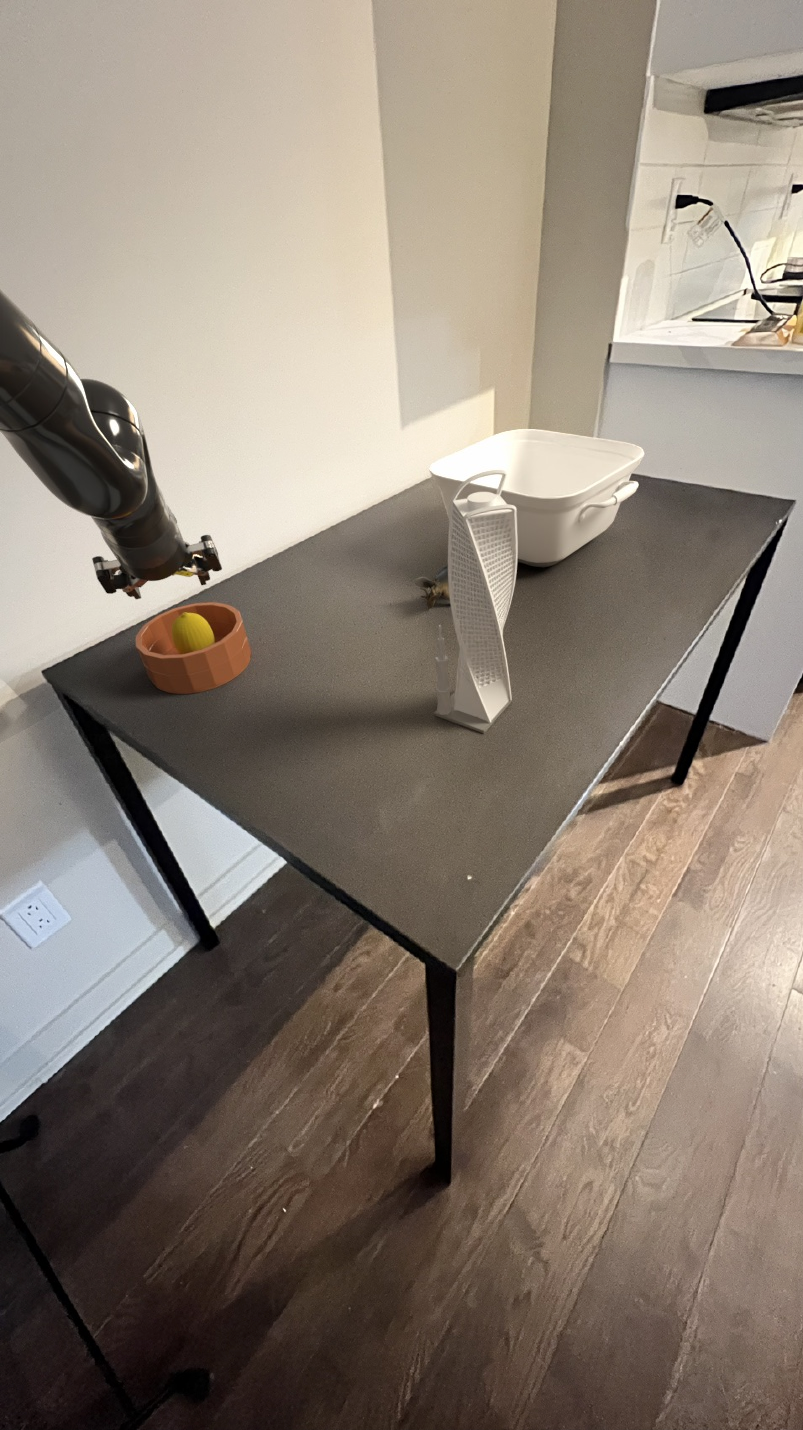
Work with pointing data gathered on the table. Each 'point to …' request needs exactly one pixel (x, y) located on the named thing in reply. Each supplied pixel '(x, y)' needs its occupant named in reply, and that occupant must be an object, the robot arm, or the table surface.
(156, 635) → the bowl
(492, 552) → the white tall perforated tower
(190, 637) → the lemon
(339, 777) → the table surface
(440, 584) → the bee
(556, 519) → the white tub with handles
